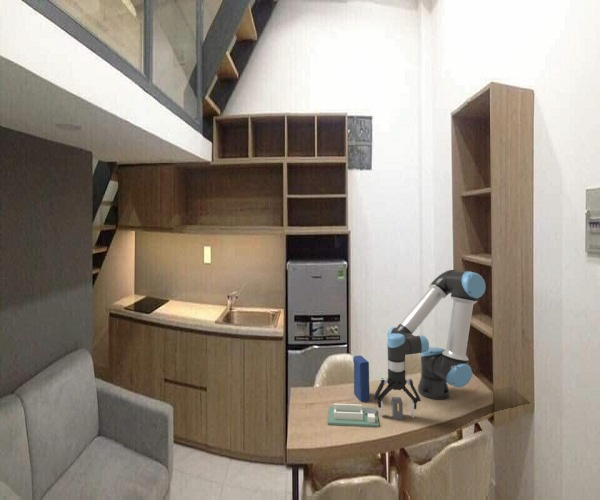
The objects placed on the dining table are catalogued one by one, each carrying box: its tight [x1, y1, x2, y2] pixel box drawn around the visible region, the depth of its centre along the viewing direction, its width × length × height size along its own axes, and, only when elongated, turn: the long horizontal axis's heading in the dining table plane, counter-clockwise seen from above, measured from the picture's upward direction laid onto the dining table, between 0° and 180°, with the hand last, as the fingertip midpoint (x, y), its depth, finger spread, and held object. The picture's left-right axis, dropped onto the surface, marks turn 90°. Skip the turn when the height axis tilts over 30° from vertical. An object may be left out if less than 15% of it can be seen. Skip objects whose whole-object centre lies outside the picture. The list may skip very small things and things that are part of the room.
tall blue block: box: [352, 355, 371, 403], centre depth 169 cm, size 10×5×20 cm, turn 13°
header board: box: [327, 403, 380, 428], centre depth 151 cm, size 22×14×4 cm, turn 82°
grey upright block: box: [391, 396, 404, 421], centre depth 150 cm, size 4×6×8 cm, turn 172°
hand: (397, 415), depth 150 cm, fingers open, 13 cm apart
